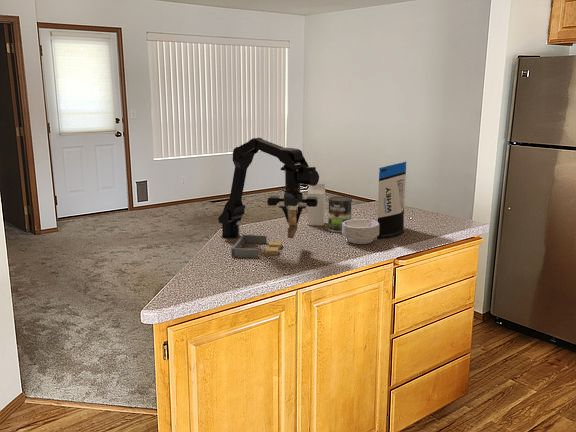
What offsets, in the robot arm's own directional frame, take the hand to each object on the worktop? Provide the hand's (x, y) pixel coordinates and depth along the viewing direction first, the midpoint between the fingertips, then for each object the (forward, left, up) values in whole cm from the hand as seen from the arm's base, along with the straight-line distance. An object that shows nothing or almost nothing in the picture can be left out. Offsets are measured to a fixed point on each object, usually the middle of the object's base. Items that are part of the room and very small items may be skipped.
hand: (292, 223), depth 203 cm
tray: (-17, 0, -11) cm, 20 cm away
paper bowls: (+26, +16, -11) cm, 33 cm away
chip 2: (-7, -4, -11) cm, 14 cm away
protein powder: (+39, +30, -11) cm, 50 cm away
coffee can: (+17, +34, -11) cm, 40 cm away
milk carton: (+6, +43, -11) cm, 45 cm away
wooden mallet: (0, 0, -4) cm, 4 cm away
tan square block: (-7, +4, -11) cm, 14 cm away
